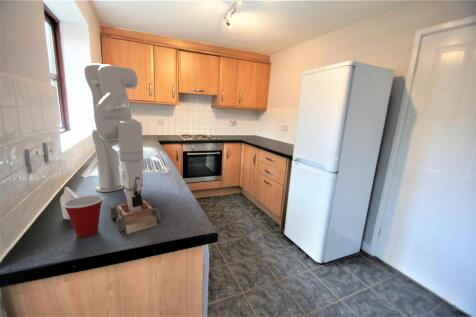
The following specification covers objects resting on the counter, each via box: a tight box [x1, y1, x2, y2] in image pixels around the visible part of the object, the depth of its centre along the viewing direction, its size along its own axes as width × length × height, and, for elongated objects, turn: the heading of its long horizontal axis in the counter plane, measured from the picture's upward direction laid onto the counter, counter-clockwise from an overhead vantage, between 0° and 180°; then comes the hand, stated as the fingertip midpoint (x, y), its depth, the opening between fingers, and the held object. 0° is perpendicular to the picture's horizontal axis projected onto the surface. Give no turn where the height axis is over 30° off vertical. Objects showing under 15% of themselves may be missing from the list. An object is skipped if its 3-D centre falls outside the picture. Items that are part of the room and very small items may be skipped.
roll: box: [59, 186, 79, 220], centre depth 82 cm, size 6×12×6 cm
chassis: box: [109, 198, 161, 235], centre depth 82 cm, size 18×14×5 cm
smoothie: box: [123, 186, 144, 213], centre depth 80 cm, size 6×6×14 cm
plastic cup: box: [63, 194, 104, 239], centre depth 71 cm, size 11×11×12 cm
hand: (134, 202), depth 81 cm, fingers closed on smoothie, 6 cm apart
